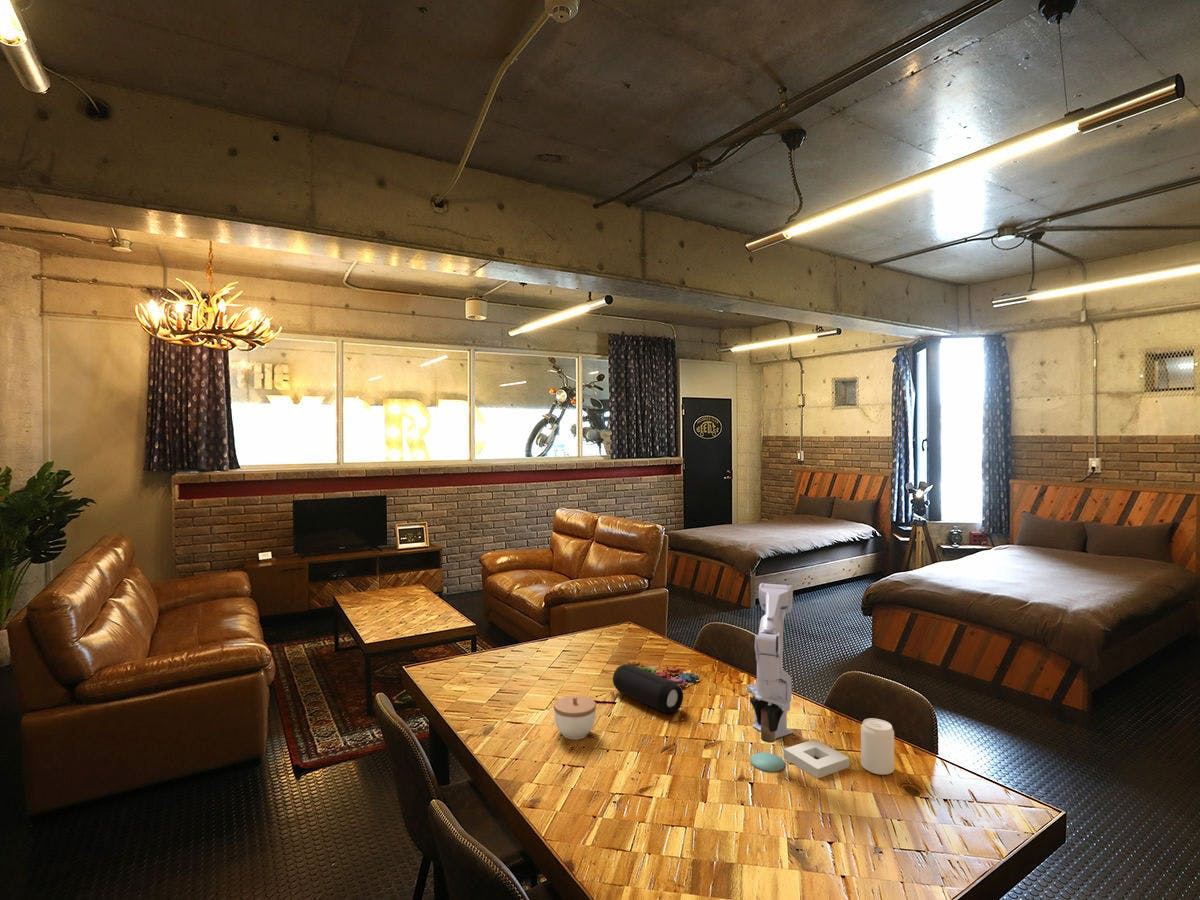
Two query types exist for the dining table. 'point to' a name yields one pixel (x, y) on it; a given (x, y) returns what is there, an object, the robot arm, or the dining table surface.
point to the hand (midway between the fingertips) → (767, 727)
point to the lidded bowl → (574, 716)
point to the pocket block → (820, 767)
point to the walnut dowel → (766, 728)
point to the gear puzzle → (668, 673)
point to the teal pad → (767, 762)
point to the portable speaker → (648, 688)
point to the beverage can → (877, 746)
